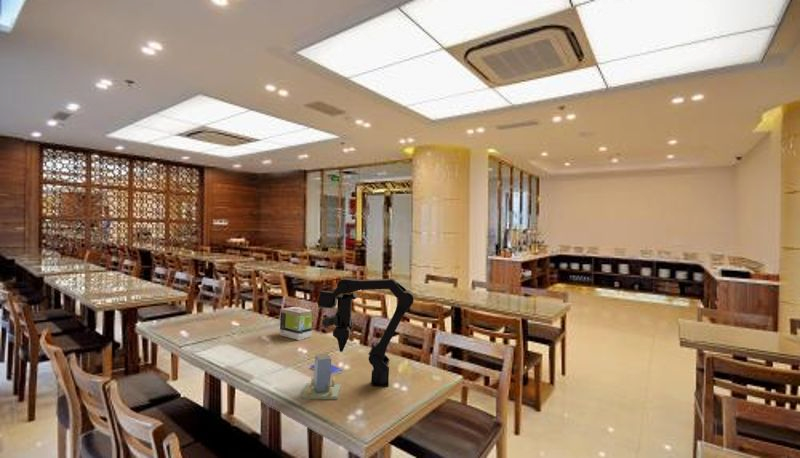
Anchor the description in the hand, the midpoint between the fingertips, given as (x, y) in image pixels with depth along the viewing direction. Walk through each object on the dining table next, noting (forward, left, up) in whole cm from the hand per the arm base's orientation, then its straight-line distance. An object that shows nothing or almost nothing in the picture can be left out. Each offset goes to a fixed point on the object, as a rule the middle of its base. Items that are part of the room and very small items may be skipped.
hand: (342, 347), depth 157 cm
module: (+6, +12, -12) cm, 18 cm away
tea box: (+31, -58, -13) cm, 67 cm away
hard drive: (+7, -10, -14) cm, 19 cm away
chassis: (+6, +12, -13) cm, 19 cm away
